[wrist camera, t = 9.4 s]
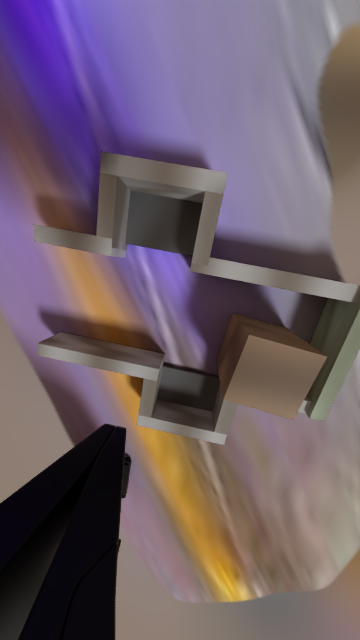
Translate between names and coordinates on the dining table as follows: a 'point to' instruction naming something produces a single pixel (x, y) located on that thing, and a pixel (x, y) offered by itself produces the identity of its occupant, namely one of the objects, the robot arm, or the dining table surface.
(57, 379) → the dining table surface
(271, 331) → the block
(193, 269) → the trap lane
